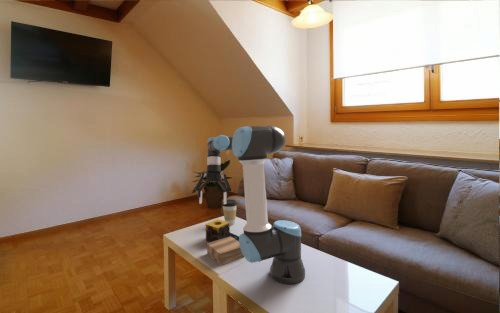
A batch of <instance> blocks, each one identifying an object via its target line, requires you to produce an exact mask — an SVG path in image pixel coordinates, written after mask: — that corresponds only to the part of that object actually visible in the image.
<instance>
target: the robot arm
mask: <svg viewBox="0 0 500 313" xmlns="http://www.w3.org/2000/svg"><path fill="white" fill-rule="evenodd" d="M285 145H286V135H285V132H284V131H283V130H282V129H281V128H279V127H278V126H273V125H258V126H257V125H256V126H255V125H247V126H242V127H241V126H240V127H238V128H237V129H236V130H235V131H234V133H233V135H232V136H227V135H225V134H220V135H218V136H216V137H213V136H211V137H209V138H208V139H207V146H206V147H207V150H206V151H207V156H206V157H207V159H206V165H207V166H206V173H205V172H202V173H200V178H199V179H198V181H197V183H196V185H195V187H194V191H196V192H197V198H198V199H199V200H198V201H199V202H198V203H199V204H198V205H201V204H202V203H203V191H202V190H203V189H204V187H206V185H207V184H208V183H209V182H210V183H218V185H219V186H220V187H221V189H223V201H224V204H226V200H227V199H228V198H229V192H232V187H231V186H230V183H229V180H228V179H227V174H226V173H224V174H221V171H222V170H221V163H222V161H221V158H222V153H221V152H227V151H232V154H233V155H234V157H236V158H237V159H238V160H237V161H238V162H239V163H240V164H241V165H242V173H243V174H242V176H243V190H244V201H245V202H244V204H245V217H246V224H245V225H244V226H243V233H241V234H240V235H238V236H239V237H238V241H239V245H240V249H241V251H242V254H243V256H244V257H243V258H244V259H245V260H246V261H247V262H249V263H250V264H253V263H257V262H259V263H261V262H262V261H266V260H269V259H271V258H273V259H272V262H271V265H270V268H269V275H270V277H271V279H272V280H274V281H276V282H278V283H279V284H283V285H294V284H298V283H301V282H302V281H303V280H304V279H305V278H306V269H305V266H304V265H305V264H304V263H303V260H302V228H301V226H300V225H299V224H298V223H296V222H293V221H290V220H285V219H283V220H275V221H274V222H273V225H272V224H271V223H270V222H269V219H268V218H269V217H268V205H267V203H268V202H267V191H266V177H265V165H264V164H265V162H266V161H267V160H268V156H267V155H271V154H272V155H273V154H276V153H279V152H280V151H281V150H282V149H283V148H284V146H285ZM205 177H206V180H205V181H204V182H203V180H204V178H205ZM221 178H222V180H221ZM222 181H223V182H224V183H223V182H222ZM202 182H203V183H202ZM201 183H202V184H201Z"/></svg>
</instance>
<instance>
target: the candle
mask: <svg viewBox="0 0 500 313" xmlns="http://www.w3.org/2000/svg"><path fill="white" fill-rule="evenodd" d="M230 226H231V225H229V222H226V221H225V220H221V219H218V218H217V219H214V220H212V221H209V222H208V223H205V241H206V242H207V243H210V242H213V241H216V240H219V239H223V238H226V237H229V236H231V231H230Z"/></svg>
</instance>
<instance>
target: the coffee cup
mask: <svg viewBox="0 0 500 313" xmlns="http://www.w3.org/2000/svg"><path fill="white" fill-rule="evenodd" d="M237 206H238V203H237V201H236V200H235V199H226V204H224V200H223V201H222V210H223V217H224V221H226V222H229V226H235V224H236V217H237Z"/></svg>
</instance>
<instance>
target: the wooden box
mask: <svg viewBox="0 0 500 313" xmlns="http://www.w3.org/2000/svg"><path fill="white" fill-rule="evenodd" d="M206 251H207V253H206V254H207V255H208V256H209V257H210V258H211V259H213V260H214V261H215V262H216V263H217V264H218V265H220V266H224V265H226V264H229V263H232V262H234V261H237V260H240V259H242V258H245V257H244V256H243V254H242V251H241V249H240V245H239V240H237V239H236V238H234V237H233V236H231V235H230V236H229V237H226V238H223V239H219V240H216V241H213V242H207V243H206Z"/></svg>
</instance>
